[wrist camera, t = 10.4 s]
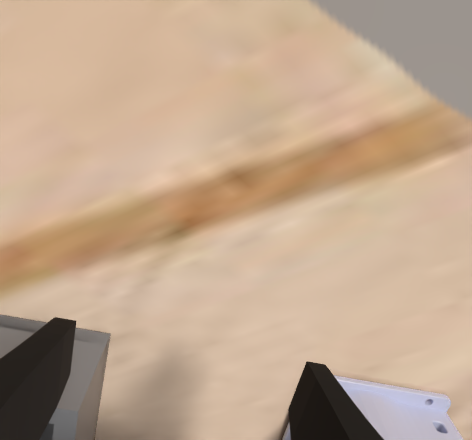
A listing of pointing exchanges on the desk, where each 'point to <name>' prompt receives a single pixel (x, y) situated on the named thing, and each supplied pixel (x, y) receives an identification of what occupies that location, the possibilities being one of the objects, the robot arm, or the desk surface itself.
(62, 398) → the big crate
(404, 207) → the desk surface
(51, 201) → the desk surface
